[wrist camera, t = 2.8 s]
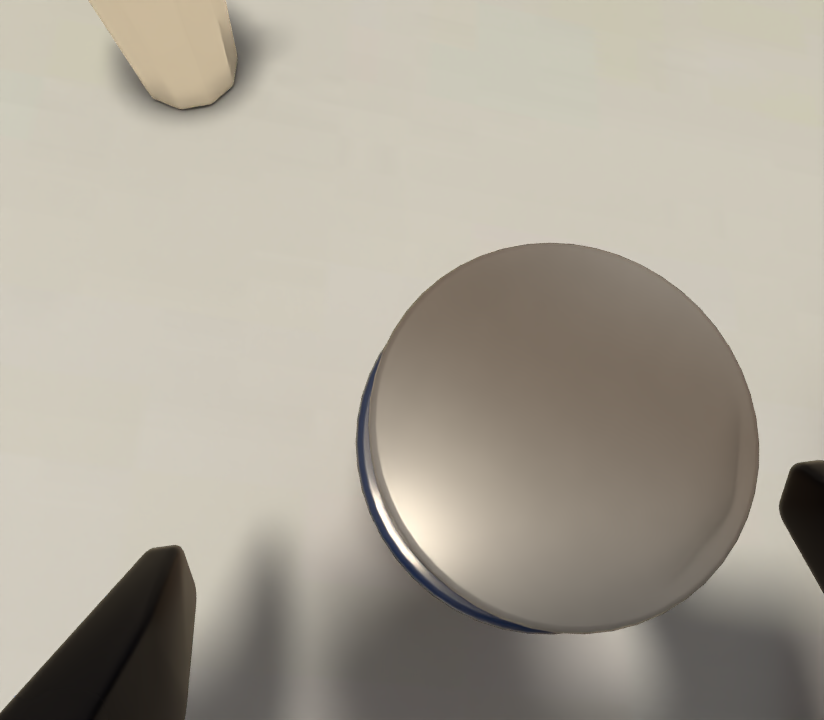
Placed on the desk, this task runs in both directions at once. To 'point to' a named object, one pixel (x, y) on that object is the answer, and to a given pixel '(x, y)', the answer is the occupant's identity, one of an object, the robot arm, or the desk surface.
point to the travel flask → (557, 441)
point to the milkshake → (175, 46)
